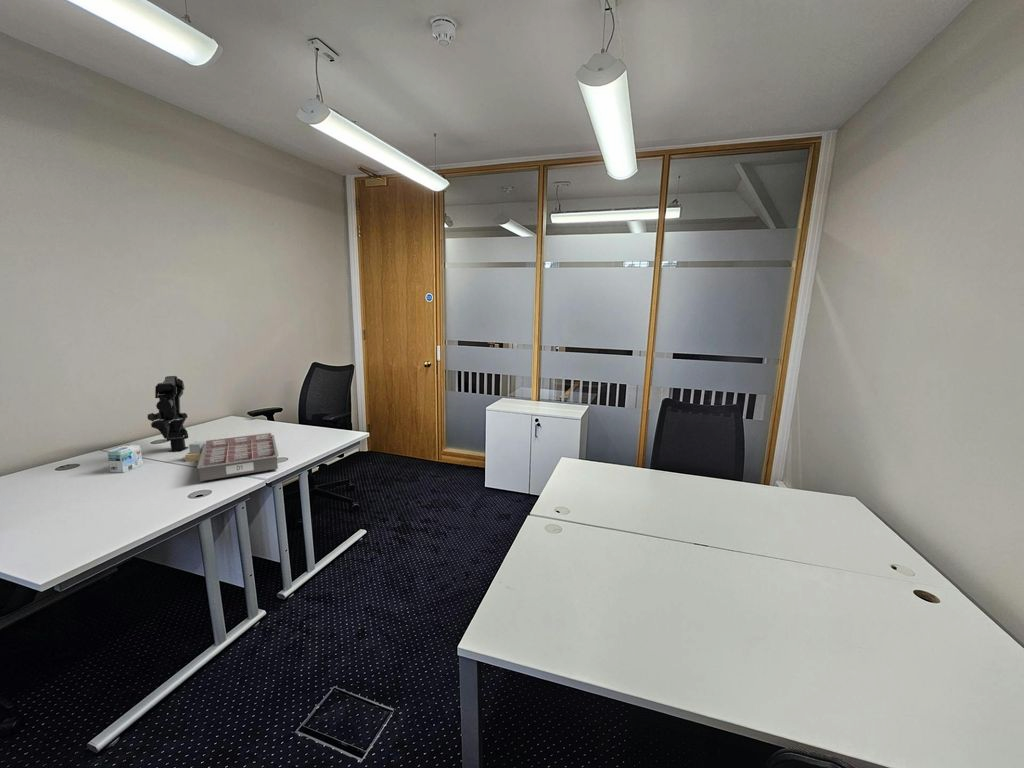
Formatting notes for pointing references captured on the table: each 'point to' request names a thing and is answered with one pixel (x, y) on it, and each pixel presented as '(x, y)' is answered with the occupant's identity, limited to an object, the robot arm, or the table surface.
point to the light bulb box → (125, 458)
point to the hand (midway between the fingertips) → (171, 435)
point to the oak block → (192, 457)
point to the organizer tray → (237, 456)
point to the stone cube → (196, 447)
